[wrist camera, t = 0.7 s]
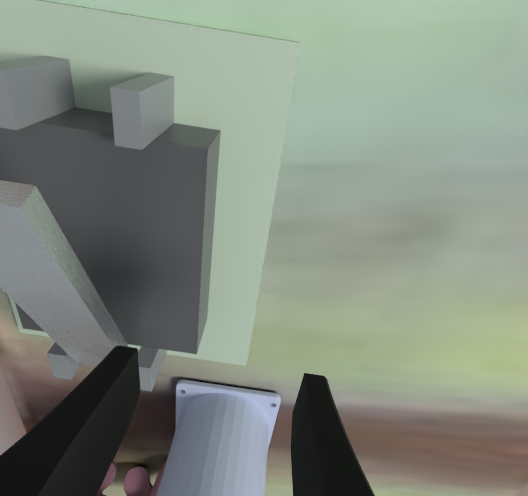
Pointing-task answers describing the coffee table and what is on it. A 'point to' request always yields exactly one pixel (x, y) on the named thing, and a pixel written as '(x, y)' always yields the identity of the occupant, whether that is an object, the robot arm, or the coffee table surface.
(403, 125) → the coffee table surface
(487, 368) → the coffee table surface
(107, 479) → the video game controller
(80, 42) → the board
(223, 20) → the coffee table surface
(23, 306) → the block
